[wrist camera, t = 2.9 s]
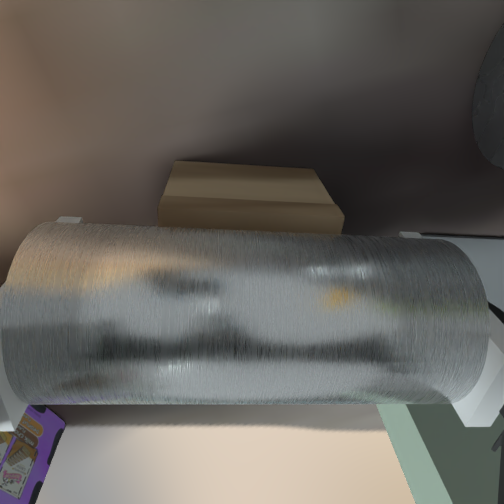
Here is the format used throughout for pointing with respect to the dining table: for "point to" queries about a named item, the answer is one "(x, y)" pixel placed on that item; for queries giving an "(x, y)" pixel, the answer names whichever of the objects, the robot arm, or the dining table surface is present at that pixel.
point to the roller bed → (490, 103)
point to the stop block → (444, 453)
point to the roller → (239, 317)
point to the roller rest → (247, 199)
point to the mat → (483, 262)
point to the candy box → (28, 454)
